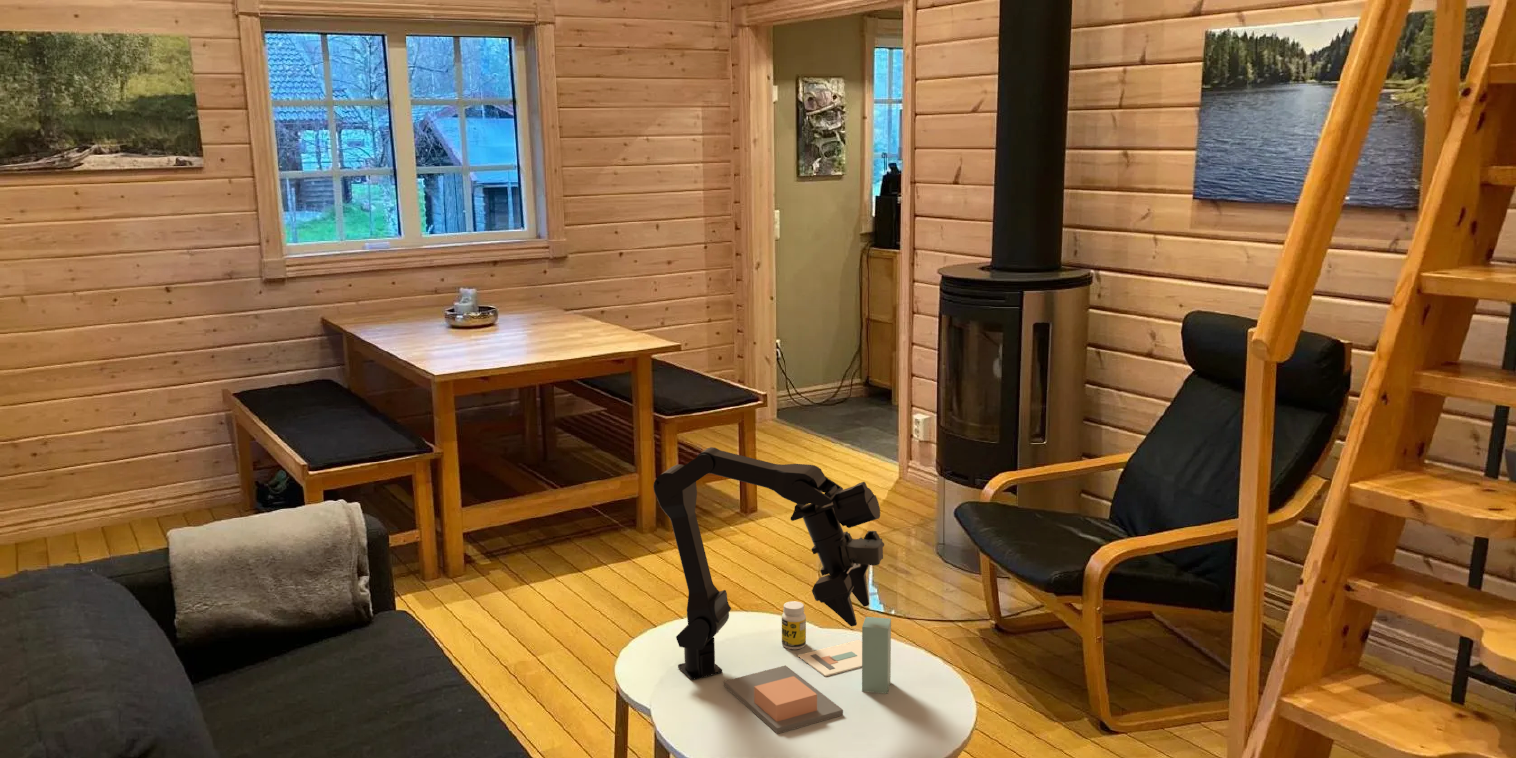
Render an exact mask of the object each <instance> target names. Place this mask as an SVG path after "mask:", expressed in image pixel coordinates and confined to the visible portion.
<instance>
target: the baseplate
mask: <svg viewBox="0 0 1516 758" xmlns="http://www.w3.org/2000/svg"><path fill="white" fill-rule="evenodd" d="M723 687H724V688H725V689H726V690H728V692H729V693H731V694H732V695H733V696H734V697H735V698H737V700H739V701H740V702H741V703H742V704H744V706H746V707H747V708H748V709H749V710H750V711H751V712H752V713H753V714H755V715H756V716H757V717H758V718H759V719H760V720H761V721H763V722H764V723H765V724H766V725H767V726H768V727H769V728H770V729H771V730H773V731H774V732H775V733H776V734H781V733H784V732H788V731H792V730H795V729H799V728H802V727H806V726H809V725H813V724H816V723H819V722H823V721H824V722H825V721H827V720H831V719H833V718H837V717H840V716H843V715H844V709H843V708H842V707H840V706H839V705H837V704H836V703H835V702H834V701H832V699H830V698H829V697H827V696H826V695H825V694H823V692H820V691H819V690H818V689H817V688H815V686H813V685H812V684H810V683H809V682H808V681H807V680H806V679H804V678H803V677H802V676H800V675H799V674H798V673H796V672H795V671H793V669H792V668H790V667H789V666H787V665H782V666H777V667H774V668H770V669H767V670H763V671H758V672H755V673H750V674H746V675H742V676H739V677H735V678H734V677H733V678H731V679H727V680H726V679H725V680H724V681H723Z"/></svg>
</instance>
